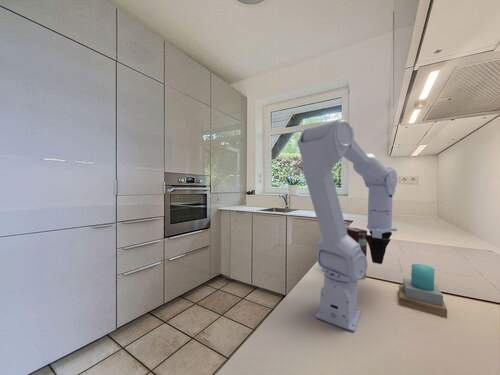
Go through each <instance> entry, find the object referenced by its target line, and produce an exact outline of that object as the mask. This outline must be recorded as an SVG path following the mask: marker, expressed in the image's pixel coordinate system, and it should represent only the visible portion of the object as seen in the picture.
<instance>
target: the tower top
mask: <svg viewBox="0 0 500 375" xmlns="http://www.w3.org/2000/svg"><path fill="white" fill-rule="evenodd" d="M402 280H403V281H402V285H403V288H404V291H405V295H406V298H410V299H415V300H419V301H423V302H427V303H432V304H436V305H440V306H443V301H444V295H443V293H442V292H441V291H440V288H439V287H438V285H437V284H436V283H434V290H432V291H428V290H422V289H419V288H416V287H414V286H413V285H411V278H405V277H403V279H402Z"/></svg>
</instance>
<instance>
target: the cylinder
mask: <svg viewBox="0 0 500 375" xmlns="http://www.w3.org/2000/svg"><path fill="white" fill-rule="evenodd" d="M410 275H411V277H410V279H411V285H413V286H414V287H416V288H419V289H422V290H428V291H432V290H434V284H435V268H434V267H432V266H429V265H426V264H421V263H420V264H419V263H413V264H411V274H410Z"/></svg>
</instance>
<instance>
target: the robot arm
mask: <svg viewBox="0 0 500 375" xmlns="http://www.w3.org/2000/svg"><path fill="white" fill-rule="evenodd" d="M354 132H355V131H354V129H353V127H352V126H351V124H350V123H349V121H347V120H346V119H344V118H339V119H336V120H334V121H330V122H327V123H324V124H320V125H317V126H314V127H308V128H305V129H303V131H302V132H301V135H300V136H299V138H298V141H297V146H298V149H299V153H300V156H301V159H302V161H301V162H302V171H303V176H304V179H305V182H306V185H307V189H308V191H309V196H310V199H311V202H312V206H313V209H314V213H315V216H316V219H317V223H318V226H319V229H320V230H319V231H320V233H321V237H320V239H318V241H317V243H316V244H315V247H316V259H317V260H316V261H317V264H318V265H319V267H321V272H323V277H324V278H323V285H322V288H321V290H320V301H319V302H320V307H319V309H318V311H317V312H316V314H315V317H316V319H319V320H322V321H325V322H326V323H329V324H333V325H334V326H337V327H340V328H343V329H345V330H347V331H351V332H355V330H356V327H357V324H358V322H359V318H360V314H361V311H362V310H361V308H359V307H358V281H360V280H362V279H361V278H363V276H364V275H365V273H366V274H367V271H368V260H367V256H366V257H365V255H364V253H363V252H362V250H361V247H360V245H359V244H358V243H357V242H356V241H355V240H353V239H352V238H351V237H350V236H349V235H348V234H347V230H346V226H347V225H346V223H345V218H344V215H343V211H342V208H341V202H340V200H339V195H338V191H337V188H336V184H335V180H334V176H333V172H332V169H333V167H334V166H335V165H336V164H338V163H339V162H340V161H341V159H342V158H345V159H346V160H348V161H349V162H351V163H352V167H353V170H354V171H355V173H357V174H358V175H359V176H361V178H362V181H364V184H365V187H366V188H368V197H367V198H368V200H367V202H368V205H367V225H366V229H368V230H369V234H367V235H365V238H366V240H367V246H368V248H369V251H370V252H369V253H370V258H371V262H372V263H373V264H377V265H378V264H379V265H382V264H383V261H384V257H385V254H386V250H387V247H388V245H389V244H390V242H391V236H392V234H393V232H397V231H398V230H397V229H398V227H393V226H392V225H393V195H395V193H396V186H397V185H398V184H397V183H398V180H399V177H398V174H397V173H398V172H397V170H395V169H394V168H392V167H386V166H385V165H384V164H383V163H382V162H381V161H380V160H379V159H378V157H376V156H375V155H374V153H373V152H371V153H370V152H366V153H365V151H364V150H363V149H362V147H361V146H360V145H359V144H358V142H356V140H355V134H354ZM363 279H364V278H363Z"/></svg>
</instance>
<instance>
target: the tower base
mask: <svg viewBox="0 0 500 375" xmlns="http://www.w3.org/2000/svg"><path fill="white" fill-rule="evenodd" d="M398 302H399V303H398V304H399V306H403V307H407V308H410V309H413V310H417V311H420V312H425V313H428V314H430V315H431V314H433V315H435V316H439V317H443V318H448V309H447V305H446V304H445V301H444V300H443V306H440V305H436V304H432V303H427V302H423V301H419V300H415V299H410V298H406V295H405V291H404V288H403V284H399V285H398Z"/></svg>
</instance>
